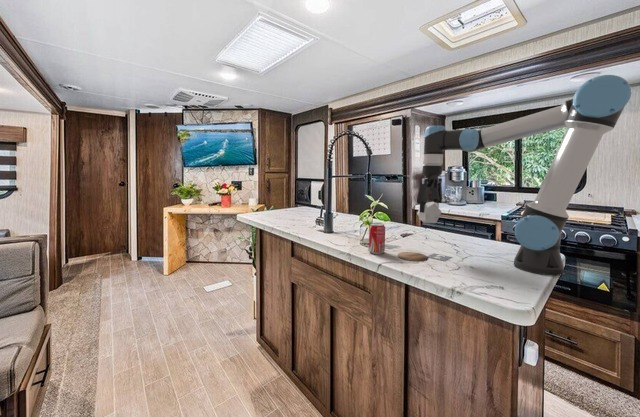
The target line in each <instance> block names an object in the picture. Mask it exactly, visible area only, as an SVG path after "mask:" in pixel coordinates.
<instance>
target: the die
mask: <svg viewBox="0 0 640 417" xmlns="http://www.w3.org/2000/svg"><path fill="white" fill-rule="evenodd" d="M426 205H427V213H426V221H423V220H421V222H422V223H423V224H437V222H438V220H439V218H440V216H441V214H442V210H441V209H440V207H439V208H438V207H437V206H436V204H435V203H432V202H431V203H430V202H429V203H428V202H426ZM419 211H420V208H419V209H418V211H417V213H416V215H417V216H418V217H419Z"/></svg>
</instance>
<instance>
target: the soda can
mask: <svg viewBox="0 0 640 417" xmlns="http://www.w3.org/2000/svg"><path fill="white" fill-rule="evenodd" d="M385 250H386V226H385V223H382V222H371V223H370V225H369V226H368V252H369V253H370V254H373V255H382V254H384V253H385Z"/></svg>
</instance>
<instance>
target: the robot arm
mask: <svg viewBox="0 0 640 417" xmlns="http://www.w3.org/2000/svg"><path fill="white" fill-rule="evenodd" d="M631 98H632V89H631V85H630V83H629V82H628V81H627V80H626V79H625V78H623V77H621V76H618V75H615V74H603V75H598V76H595V77H592V78H591V79H588V80H587V81H585V82H583V84H582V85H580V86H579V87H578V89H577V90H576V91H575V93H574V95H573V97H572V98H571V99H568V100H565V101H564V102H562V104H560V105H559V106H555V107H552V108H548V109H545V110H541V111H539V112H535V113H531V114H529V115H525V116H522V117H518V118H515V119H512V120H508V121H505V122H501V123H498V124H495V125H491V126H488V127H485V128H482V129H478V130H477V129H476V128H475V129H474V128H465V129H453V130H446V126H445V125H429V126H427V127H426V128H425V130H424V131H425V132H424V138H423V139H424V141H423V144H424V145H423V157H422V159H423V161H422V162H423V163H422V164H423V166H422V170H421V171H422V172H421V173H422V175H424V178H420V181H419V183H420V184H419V189H418V193H417V199H416V203H417V204H418V205H419V209H420V211H419V210H418V211H419V216H418V220H419V221H422V220H423V221H426V213H427V205H426V203H428V202H427V201H428V199H429V195H430V192H431V197H432V202H431V203H435V204H436V206H437V207H438V208H439V209H440V204H441V203H442V201H443V190H442V187H443V186H442V182H443V181H442V180H443V179H442V178H439V176H441V175H442V174H443V166H442V165H443V164H444V163H443V162H444V151H462V152H463V151H464V152H467V153H474V152H478V151H480V150H482V149H486V148H489V147H493V146H498V145H501V144H505V143H509V142H513V141H516V140H520V139H524V138H528V137H532V136H535V135H541V134H545V133H548V132H552V131H555V130H560V129H563V128H567V129H566V132H565V134H564V136H563V138H562V140H561V142H560V145H558V146H559V147H558V148H557V151H556V153H555V155H554V157H553V160H552V162H551V163H550V166H549V169H548V171H547V172H546V176H545V177H544V179H543V181H542V184H541V186H540V188H539V191H538V193H537V195H536V197H535V199H534V201H530V202H528V203H527V204H526V206H525V208H524V211H523V213H522V215H521V216H520V219H519V220H518V221H517V222H516V223H515V225H514V236H515V238H516V240H517V242H518V243H519V244H520V246H519V248H518V251H517V253H516V255H515V257H514V259H513V266H514V267H515V268H517V269H519V270H520V271H524V272H529V273H532V274H533V273H534V274H540V275H545V276H548V275H549V276H550V275H551V276H559V275H562V274H564V272H565V270H564V269H565V265H564V263H563V262H564V261H563V259H562V255H561V251H560V250H561V249H560V248H561V239H562V233H563V232H562V231H563V230H564V228H565V225H566V224H567V221H568V220H569V218H570V216H569V214H568V212H567V208H568V207H569V204H570V202H571V200H572V198H573V196H574V195H575V193H576V191H577V188H578V186H579V184H580V182H581V180H582V178H583V176H584V174H585V172H586V169H588V166H589V164H590V163H591V160H592V159H593V156H594V154H595V152H596V150H597V148H598V145H599V143H600V142H601V140H602V138H603V135H604V134H607V133H608V132H611V131H613V130H614V128H615V126H616V125H617V123H618V121H619V119H620V117H621V115H622V113H623V111H624V109H625V107H626V106H627V104H628V103H629V101H630V99H631ZM417 204H416V205H417Z"/></svg>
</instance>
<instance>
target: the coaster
mask: <svg viewBox="0 0 640 417" xmlns="http://www.w3.org/2000/svg"><path fill="white" fill-rule="evenodd" d="M427 256H428V255H425V254H423V253H420V252H413V251H404V252H403V251H402V252H401V251H400V252H398V253H397V258H399V259H401V260H404V261H410V262H423V261H427V259H428V258H427Z"/></svg>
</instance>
